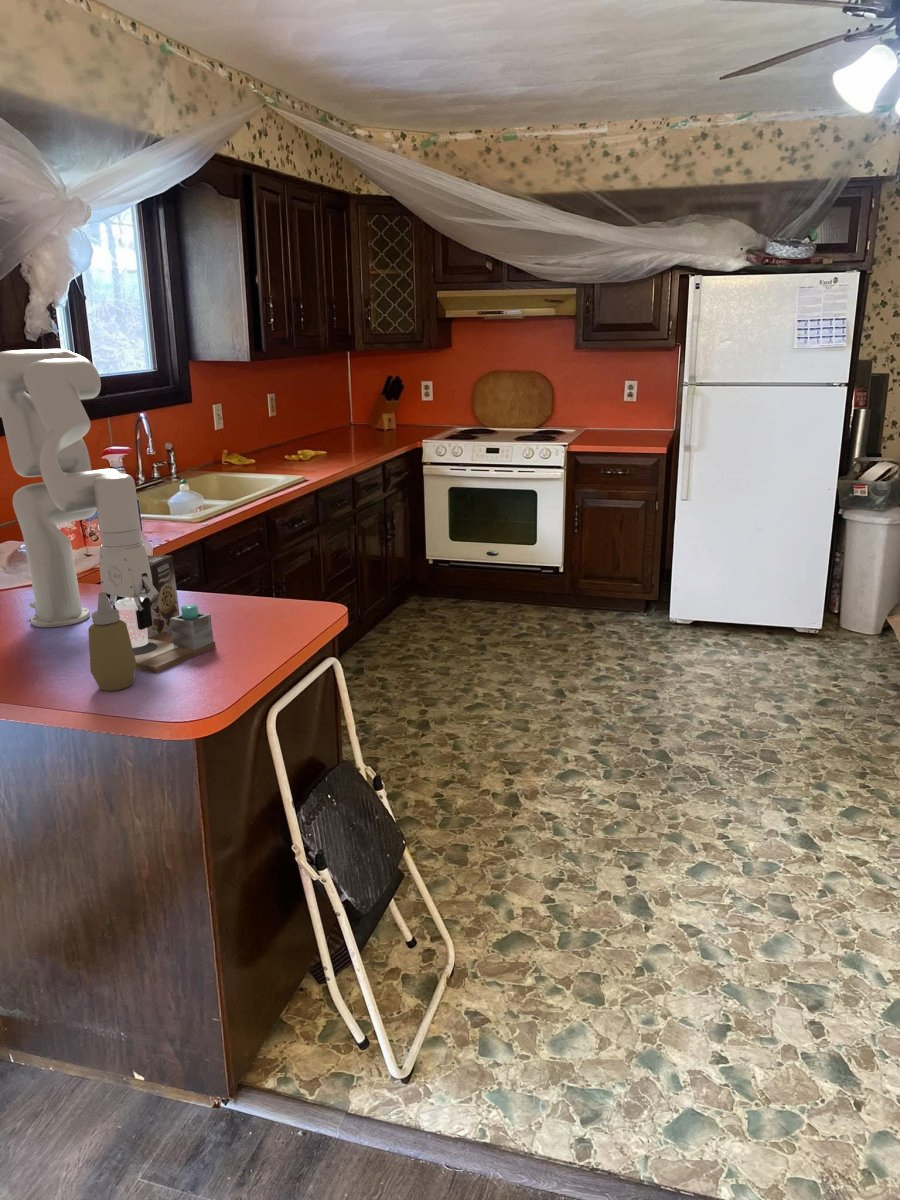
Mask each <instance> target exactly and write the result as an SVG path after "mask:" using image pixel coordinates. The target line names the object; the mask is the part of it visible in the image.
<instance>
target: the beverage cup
mask: <svg viewBox="0 0 900 1200" xmlns="http://www.w3.org/2000/svg"><path fill="white" fill-rule="evenodd" d="M140 599H141V602H142V601H143V600H144V598H142V597H140ZM114 605H115V608H116V609H117V610H118V611H119V616H120V619H119V620H122V621H123V622H125V623H126V625H127V629H128V633H129V637H130V641H131V644H132V648H135V647H141V646H144V645H146V644H148V638H149V637H148V631H147V628H145V629H142V630H140V629H138V624H137V616H136V611H137V610H138V608H137V606H136V603H135V601H134V598H127V597H125V598H124V599H121V600H118V601H116V602H115V604H114Z"/></svg>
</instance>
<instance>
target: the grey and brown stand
mask: <svg viewBox="0 0 900 1200" xmlns="http://www.w3.org/2000/svg"><path fill="white" fill-rule="evenodd" d="M198 615H199V617H198V618H196V619H193V620H184V619H182V613H181V614H180V615H178V616H176V617H173V618H170V621H171V629H172V630H171V632H168V633H167V632H162V633H159V634H157V635H154V636H151V637H148V644H146V645H144V646H141V647H135V648H133V652H134V656H135V660H136V669H135V670H141V671H145V672H149V673H153V674H158V673H160V672H162V671H165V670H167V669H169V668H171V667H173V666H176V665H179V664H180V663H181V664H182V662H185V661H187V660H189V659H192V658H194V657H196V656H197V657H198V656H199V655H201V654H203V653H206V652H208V651H210V650H213V649H215V648H216V647H217V646H216V641H214V632H213V625H212V624H213V623H212V617H211V616H212V615H211V614H210V613H205V612H200V611H198Z"/></svg>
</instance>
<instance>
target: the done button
mask: <svg viewBox="0 0 900 1200" xmlns="http://www.w3.org/2000/svg"><path fill="white" fill-rule="evenodd" d="M180 609H181V610H180V611H181V614H182V619H184V620H193V619H196V618H198V617H199V615H198V612H199V608H198V605H197V604H186V605H183V606H181V607H180Z"/></svg>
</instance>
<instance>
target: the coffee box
mask: <svg viewBox="0 0 900 1200" xmlns="http://www.w3.org/2000/svg"><path fill="white" fill-rule="evenodd" d="M147 557H148V561H149V566H150V571H151V577H152V584H153V586H154V587H155V588H156V590H157V591H158V593H159V594H158V596H157V597H156V599H155V601H154V602H153V604H152V607H150V608H151V616H152V623H153V625H152V626H150V627H148V628H147V631H148V638H149V637H151V636H154V635H157V634H159V633H162V632H167V633H170V632H172V629H171V621H170V618H173V617H176V616H178V615H181V614H180V605H179V599H178V592H177V584H176V574H175V567H174V566H175V565H174V558H173V555H167V554H166V555H165V554H160V555H148V554H147ZM141 593H142V592H141ZM141 593H140V594H141ZM142 598H143V596H142ZM169 631H170V632H169Z"/></svg>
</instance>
